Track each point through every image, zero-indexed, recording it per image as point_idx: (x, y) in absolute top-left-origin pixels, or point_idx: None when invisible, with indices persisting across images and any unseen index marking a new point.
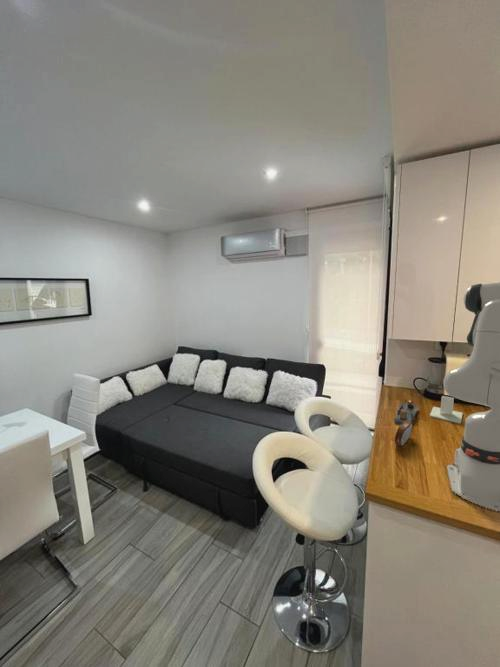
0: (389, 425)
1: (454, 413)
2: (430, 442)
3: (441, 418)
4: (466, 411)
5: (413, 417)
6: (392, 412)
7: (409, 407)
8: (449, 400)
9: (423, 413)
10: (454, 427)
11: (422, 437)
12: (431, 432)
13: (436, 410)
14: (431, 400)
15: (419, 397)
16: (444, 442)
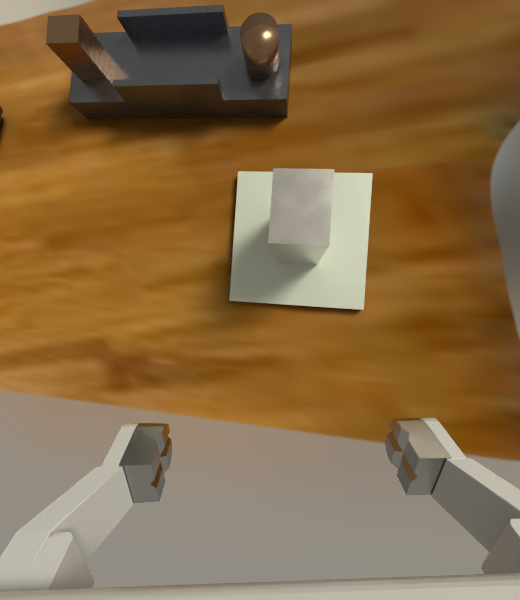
0: None
1: (329, 273)
2: (3, 204)
3: (235, 222)
4: (415, 328)
5: (158, 110)
6: None
7: (240, 63)
8: (270, 222)
9: (263, 145)
10: (179, 276)
11: (25, 175)
12: (83, 199)
13: None
14: (491, 156)
15: (507, 89)
16: (29, 247)
